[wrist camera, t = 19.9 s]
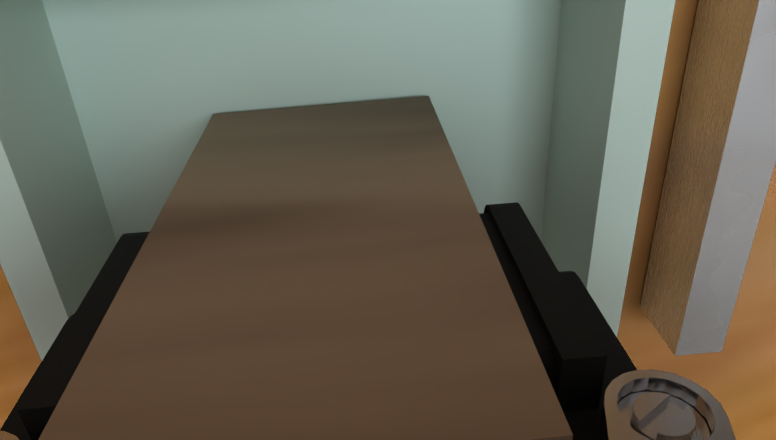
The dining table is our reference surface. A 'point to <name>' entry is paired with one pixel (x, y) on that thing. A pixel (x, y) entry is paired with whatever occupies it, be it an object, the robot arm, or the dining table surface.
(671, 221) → the piston rail
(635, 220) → the tray
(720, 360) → the dining table surface
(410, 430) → the stop block
